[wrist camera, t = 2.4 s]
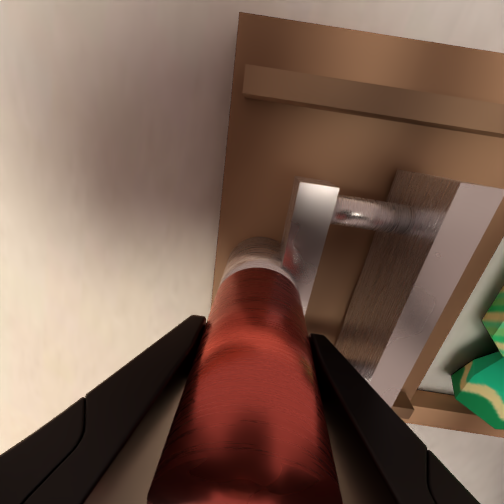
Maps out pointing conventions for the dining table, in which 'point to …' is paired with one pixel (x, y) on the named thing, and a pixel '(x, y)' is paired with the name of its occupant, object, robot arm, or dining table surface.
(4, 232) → the dining table surface
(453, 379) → the candy
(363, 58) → the wooden vise
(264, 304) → the lever
